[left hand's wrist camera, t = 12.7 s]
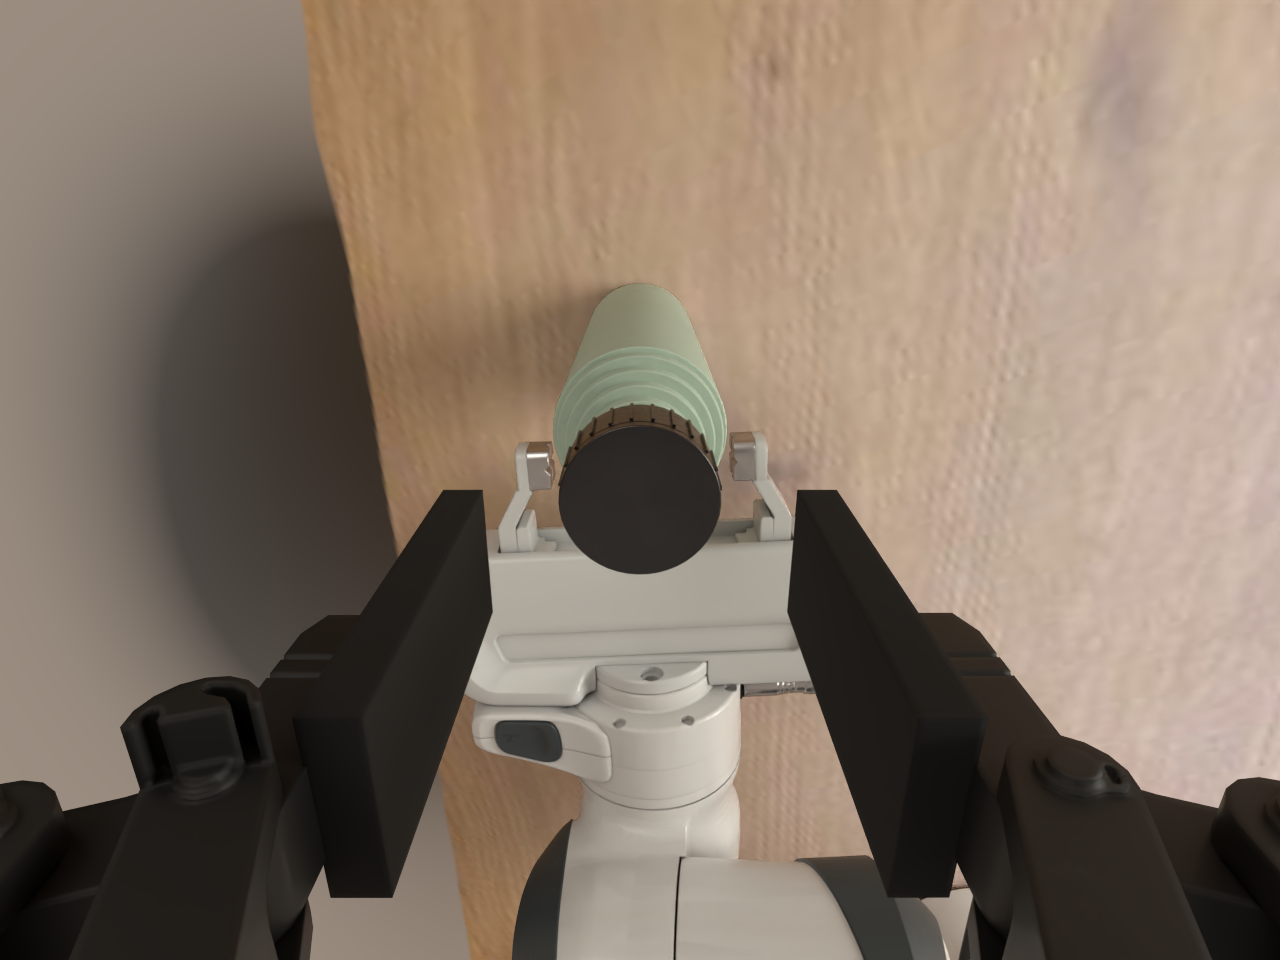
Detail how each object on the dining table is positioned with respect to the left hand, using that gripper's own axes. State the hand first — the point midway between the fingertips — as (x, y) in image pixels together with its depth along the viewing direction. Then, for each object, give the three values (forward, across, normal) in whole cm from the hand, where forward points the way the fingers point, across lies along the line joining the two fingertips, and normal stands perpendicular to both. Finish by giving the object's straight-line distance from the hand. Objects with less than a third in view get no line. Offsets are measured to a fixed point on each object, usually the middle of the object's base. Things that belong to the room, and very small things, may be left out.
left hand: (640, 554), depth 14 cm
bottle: (+24, 0, 0) cm, 24 cm away
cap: (+3, 0, 0) cm, 3 cm away
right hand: (+18, 0, +3) cm, 18 cm away
